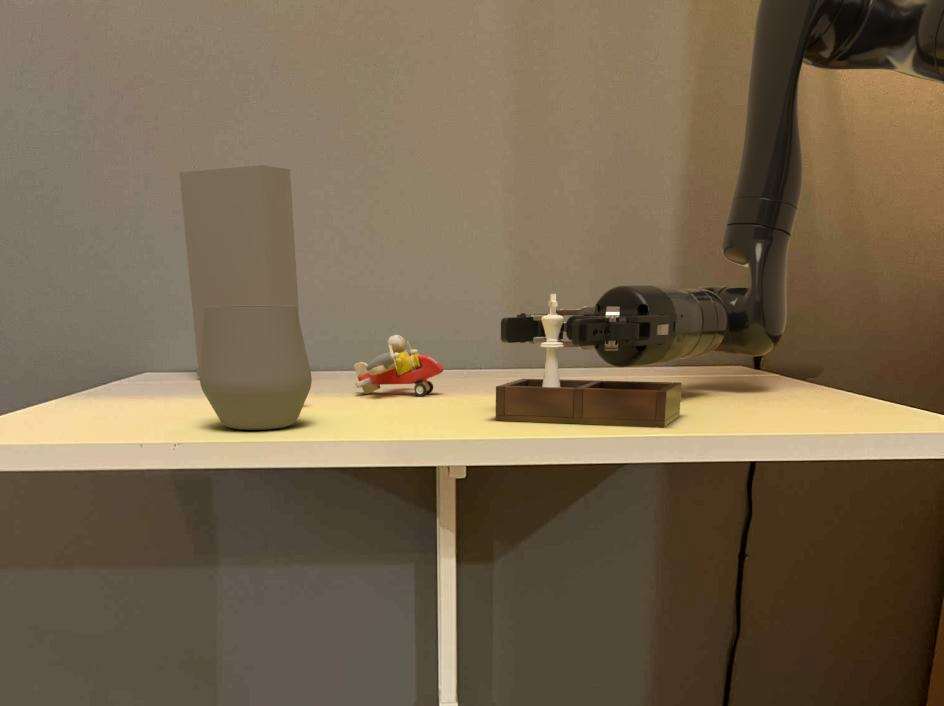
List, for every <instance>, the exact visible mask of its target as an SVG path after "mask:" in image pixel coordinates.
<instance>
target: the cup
mask: <svg viewBox="0 0 944 706" xmlns="http://www.w3.org/2000/svg"><path fill="white" fill-rule="evenodd" d="M312 379H313V378H312V372H311V368H310V363H309V358H308V354H307V350H306V346H305V340H304V336H303V332H302V328H301V322H300V317H299V318H298V313H297V309H296V306H294V305H238V306H206V307H205V308H204V322H203V337H202V351H201V365H200V377H199V384H200V388H201V390H202V393H203V394H204V396H205V398H206V399H207V401H208V402H209V404H210V406H211V408H212V409H213V411H214V413H215V414H216V416H217V417H218V419H219V421H220V422H221V424H222V425H224V426H225V427H227V428H230V429H234V430H241V431H242V430H243V431H266V430H276V429H283V428H286V427H290V426H292V425H294V424H295V423H296V422H297V420H298V419H299V417H300V414H301V412H302V410H303V408H304V405H305V403H306V400H307V398H308V396H309V393H310V390H311V388H312V382H313V381H312Z"/></svg>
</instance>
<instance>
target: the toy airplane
mask: <svg viewBox="0 0 944 706" xmlns="http://www.w3.org/2000/svg"><path fill="white" fill-rule="evenodd" d="M406 344H407V346H406ZM386 346H387V349H388V350H389V352H384V353H381V354H380V355H377V356H376V357H374V358H373V359H371V361H370V362H368V363H366V362H363V361H359V362H356V363H354V365H353V368H354V370H355V373H356V376H357V380H358V381H356V382H355V383H354V385H355V387H356V388H357V389H359V388H361V389H362V392H363V393H364V394H366V395H367V394H370V393H373V392H375V391H377V390H380V389H381V386H383V385H385V386H386V385H414V388H413V390H414V393H415V395H416V396H418V397H423V396H425V395H427V394H431V393H432V392H433V391H434V384H433V383H432V382H431V381H430V380H428V379H430V378H431V379H432V378H433V377H435V376H438V375H440V374H442V373H443V372H444V367H443V366H442V364H441V363H440V362H439V361H438V360H436V359H435V358H433V357H432V356H428V355H426V354H425V355H424V354H422V355H421V354H420V353H419V350H418V349H413V348H412V346H411V344H410V342H409V340H407V341H406V339H405V338H404V337H403V336H402V335H400V334H394V335H393V334H392V335H391V336H389V338H388V339H387V345H386ZM406 347H408V348H407V349H406Z"/></svg>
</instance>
